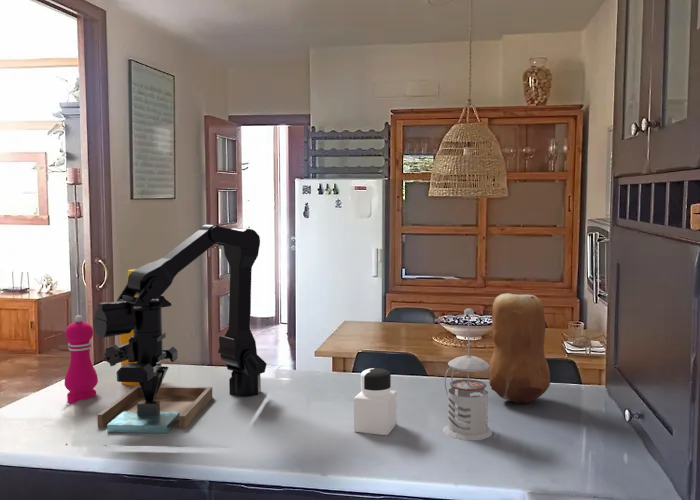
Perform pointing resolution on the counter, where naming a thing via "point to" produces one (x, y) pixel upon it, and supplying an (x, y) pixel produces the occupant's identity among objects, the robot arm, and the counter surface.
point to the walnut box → (162, 403)
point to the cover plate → (144, 419)
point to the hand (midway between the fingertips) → (150, 403)
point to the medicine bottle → (375, 403)
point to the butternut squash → (518, 348)
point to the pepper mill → (80, 362)
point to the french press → (467, 399)
